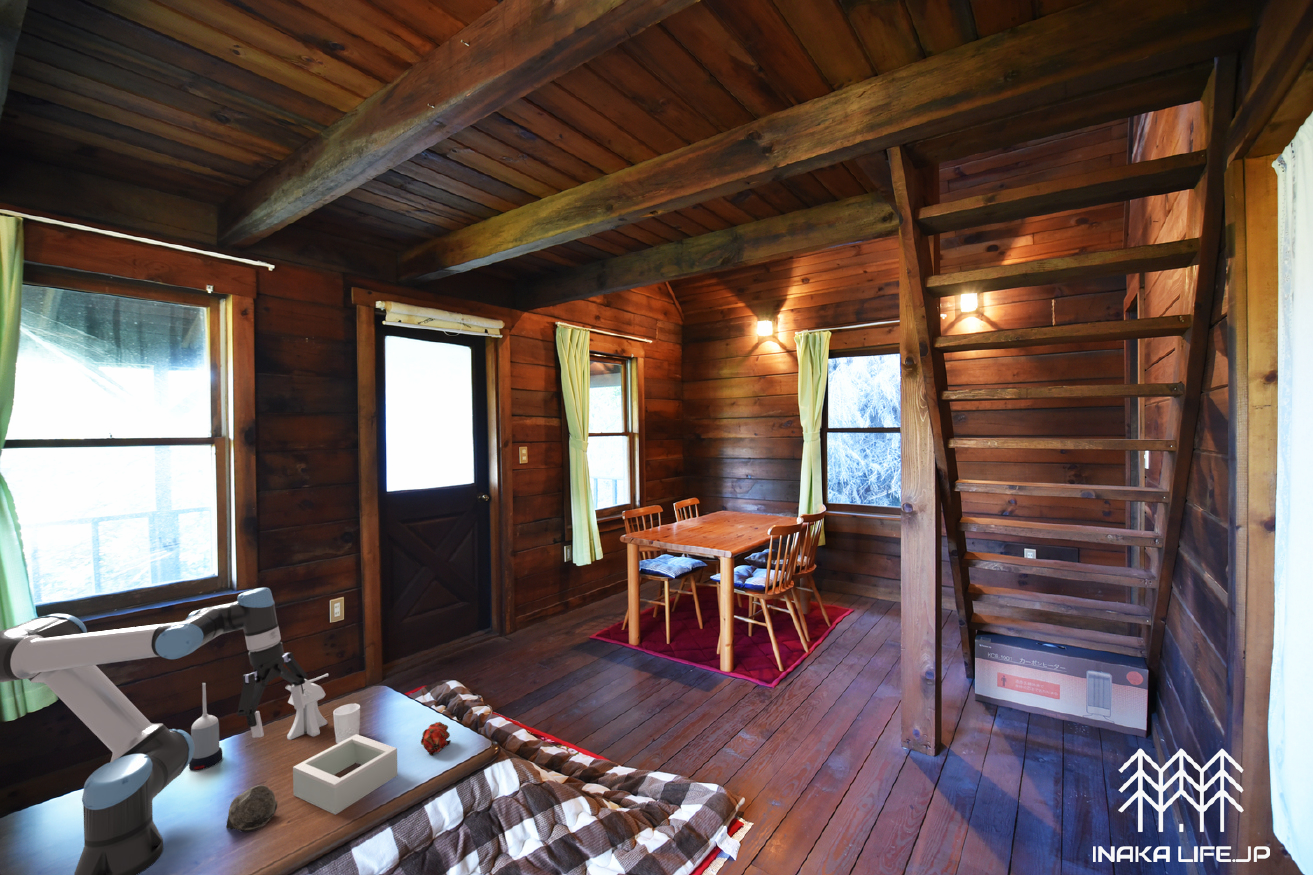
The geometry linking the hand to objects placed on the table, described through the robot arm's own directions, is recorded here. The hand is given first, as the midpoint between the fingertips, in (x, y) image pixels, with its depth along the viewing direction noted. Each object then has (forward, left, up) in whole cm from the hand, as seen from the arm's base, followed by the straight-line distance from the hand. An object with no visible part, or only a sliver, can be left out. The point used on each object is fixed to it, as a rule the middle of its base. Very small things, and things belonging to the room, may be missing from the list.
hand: (280, 721), depth 150 cm
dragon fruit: (+38, -15, -24) cm, 48 cm away
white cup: (+30, +18, -24) cm, 42 cm away
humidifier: (+2, +46, -24) cm, 52 cm away
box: (+14, -6, -24) cm, 28 cm away
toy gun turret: (+28, +36, -24) cm, 51 cm away
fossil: (-7, +2, -24) cm, 25 cm away
